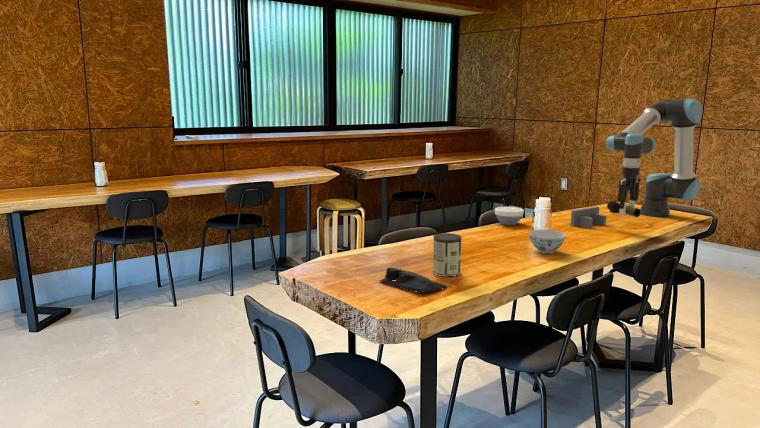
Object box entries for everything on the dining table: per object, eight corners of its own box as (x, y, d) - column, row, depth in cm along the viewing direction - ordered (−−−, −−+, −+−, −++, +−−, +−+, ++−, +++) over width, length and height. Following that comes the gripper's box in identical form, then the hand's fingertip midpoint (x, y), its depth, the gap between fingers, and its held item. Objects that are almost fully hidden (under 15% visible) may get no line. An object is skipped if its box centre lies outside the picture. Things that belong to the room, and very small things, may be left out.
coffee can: (443, 267, 212) (444, 231, 209) (465, 272, 205) (467, 236, 202) (426, 273, 205) (427, 236, 202) (449, 279, 198) (451, 241, 195)
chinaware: (549, 245, 244) (550, 228, 242) (572, 254, 230) (573, 236, 229) (520, 248, 239) (521, 231, 237) (542, 257, 225) (543, 239, 223)
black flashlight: (640, 217, 261) (642, 205, 260) (630, 218, 259) (631, 206, 258) (611, 209, 277) (612, 198, 276) (601, 211, 275) (602, 199, 273)
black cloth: (419, 299, 179) (419, 285, 178) (375, 282, 196) (375, 269, 195) (451, 289, 189) (451, 275, 188) (407, 273, 206) (407, 261, 205)
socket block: (594, 221, 293) (596, 206, 291) (609, 224, 285) (611, 209, 284) (570, 225, 282) (571, 210, 280) (585, 229, 275) (586, 213, 273)
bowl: (528, 223, 286) (529, 209, 285) (513, 228, 276) (514, 213, 274) (503, 219, 296) (504, 205, 295) (488, 223, 286) (489, 209, 284)
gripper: (626, 168, 253) (621, 218, 258) (650, 166, 263) (645, 213, 268) (611, 167, 259) (607, 215, 264) (635, 164, 269) (630, 211, 274)
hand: (626, 214), depth 266 cm, fingers closed on black flashlight, 6 cm apart
